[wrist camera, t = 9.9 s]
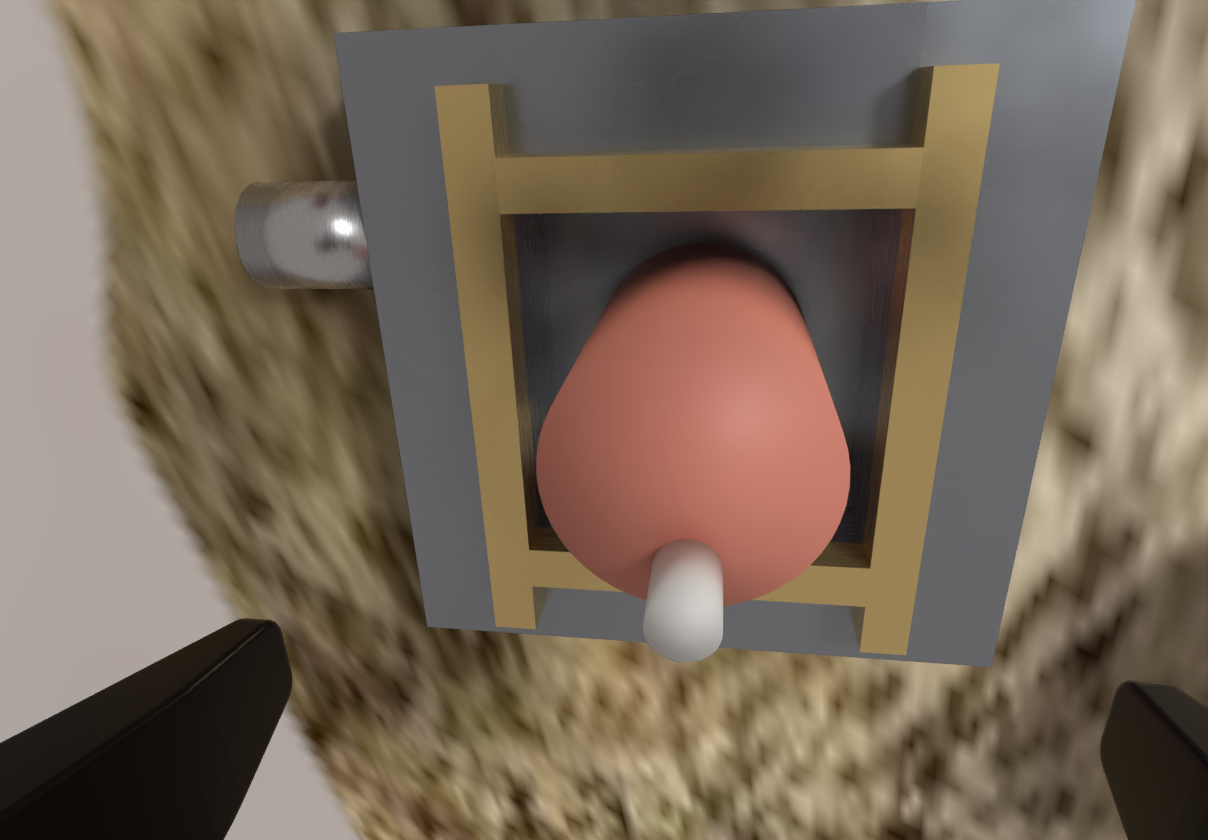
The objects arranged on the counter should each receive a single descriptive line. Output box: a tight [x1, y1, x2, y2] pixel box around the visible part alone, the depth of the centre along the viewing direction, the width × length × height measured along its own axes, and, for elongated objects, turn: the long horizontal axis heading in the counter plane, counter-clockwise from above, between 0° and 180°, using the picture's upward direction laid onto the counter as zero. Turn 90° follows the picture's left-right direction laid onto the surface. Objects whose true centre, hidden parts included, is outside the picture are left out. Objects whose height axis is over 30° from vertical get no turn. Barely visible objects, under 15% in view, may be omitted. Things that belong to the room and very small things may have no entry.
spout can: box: [536, 243, 850, 662], centre depth 15 cm, size 5×5×9 cm
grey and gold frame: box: [235, 0, 1136, 667], centre depth 17 cm, size 17×14×4 cm
